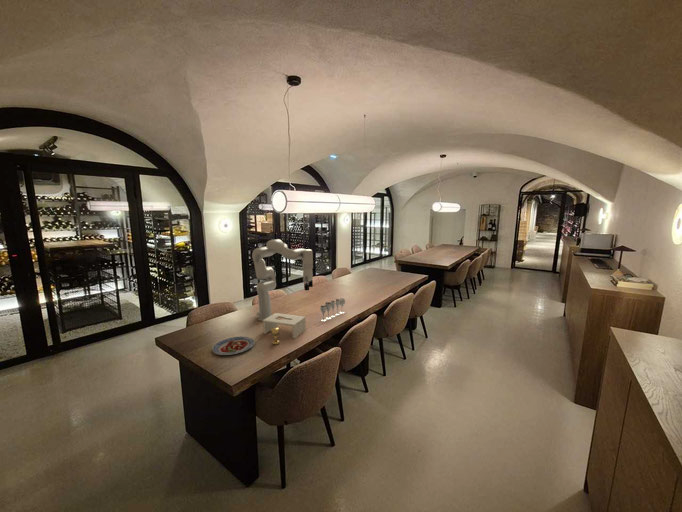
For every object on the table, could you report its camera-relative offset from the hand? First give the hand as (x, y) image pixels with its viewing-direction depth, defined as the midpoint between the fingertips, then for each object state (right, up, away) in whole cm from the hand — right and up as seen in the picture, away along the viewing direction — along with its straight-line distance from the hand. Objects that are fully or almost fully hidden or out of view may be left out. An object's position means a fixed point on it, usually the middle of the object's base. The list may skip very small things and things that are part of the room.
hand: (308, 288), depth 213 cm
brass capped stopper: (-19, -34, -22) cm, 45 cm away
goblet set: (+18, -27, +26) cm, 41 cm away
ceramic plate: (-46, -36, -27) cm, 64 cm away
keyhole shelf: (-17, -31, -3) cm, 36 cm away
